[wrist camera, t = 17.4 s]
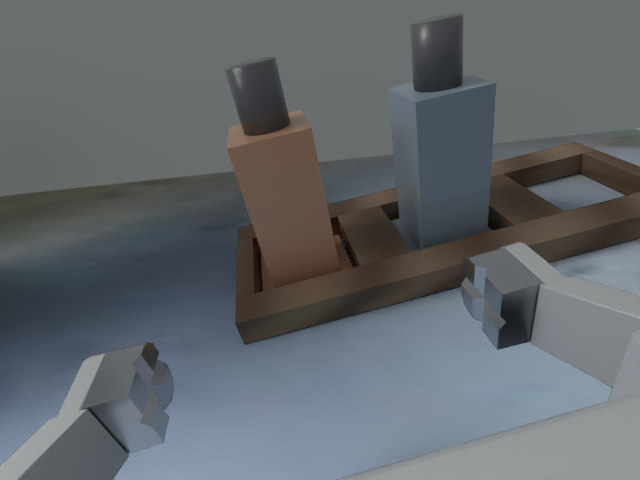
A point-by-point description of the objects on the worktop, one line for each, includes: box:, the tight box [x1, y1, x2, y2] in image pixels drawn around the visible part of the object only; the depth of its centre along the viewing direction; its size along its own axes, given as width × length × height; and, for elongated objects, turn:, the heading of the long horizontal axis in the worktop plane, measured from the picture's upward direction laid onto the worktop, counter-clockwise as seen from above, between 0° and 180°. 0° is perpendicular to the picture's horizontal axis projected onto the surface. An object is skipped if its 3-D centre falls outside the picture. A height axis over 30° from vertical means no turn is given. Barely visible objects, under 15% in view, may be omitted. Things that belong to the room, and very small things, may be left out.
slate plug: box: [388, 14, 496, 250], centre depth 21 cm, size 4×4×12 cm
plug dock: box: [236, 142, 640, 344], centre depth 24 cm, size 26×10×2 cm, turn 100°
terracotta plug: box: [225, 57, 341, 288], centre depth 20 cm, size 4×4×12 cm
